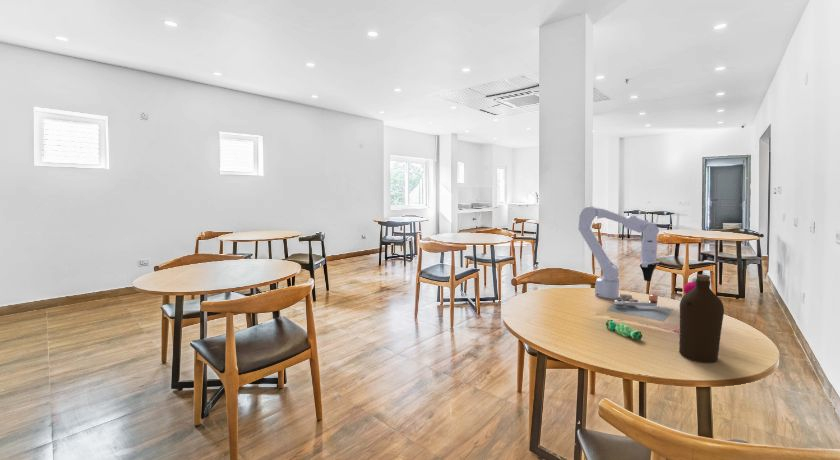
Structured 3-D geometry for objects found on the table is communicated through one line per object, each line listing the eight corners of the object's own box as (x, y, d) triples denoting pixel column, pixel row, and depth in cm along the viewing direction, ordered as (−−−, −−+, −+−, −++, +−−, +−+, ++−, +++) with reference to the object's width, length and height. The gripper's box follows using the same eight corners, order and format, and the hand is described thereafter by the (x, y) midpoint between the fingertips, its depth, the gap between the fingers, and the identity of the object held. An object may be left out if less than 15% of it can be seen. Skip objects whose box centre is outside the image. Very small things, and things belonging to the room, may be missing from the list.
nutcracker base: (606, 313, 153) (606, 301, 153) (619, 302, 166) (619, 292, 166) (663, 324, 140) (664, 312, 139) (672, 312, 153) (673, 300, 152)
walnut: (623, 304, 159) (623, 296, 159) (625, 302, 162) (626, 295, 162) (632, 306, 157) (633, 298, 157) (634, 304, 160) (635, 296, 159)
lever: (615, 305, 154) (616, 295, 154) (612, 302, 158) (612, 293, 158) (659, 306, 152) (659, 296, 151) (654, 303, 156) (654, 293, 155)
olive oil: (718, 367, 106) (724, 281, 104) (673, 356, 114) (678, 276, 111) (721, 355, 114) (728, 274, 111) (680, 345, 121) (684, 269, 118)
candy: (604, 326, 136) (609, 317, 137) (610, 330, 138) (615, 321, 138) (632, 339, 125) (637, 328, 125) (638, 343, 126) (644, 333, 127)
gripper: (656, 253, 155) (654, 285, 157) (663, 248, 166) (661, 278, 167) (636, 251, 160) (635, 282, 161) (645, 247, 170) (643, 276, 172)
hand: (647, 280), depth 165 cm, fingers closed
